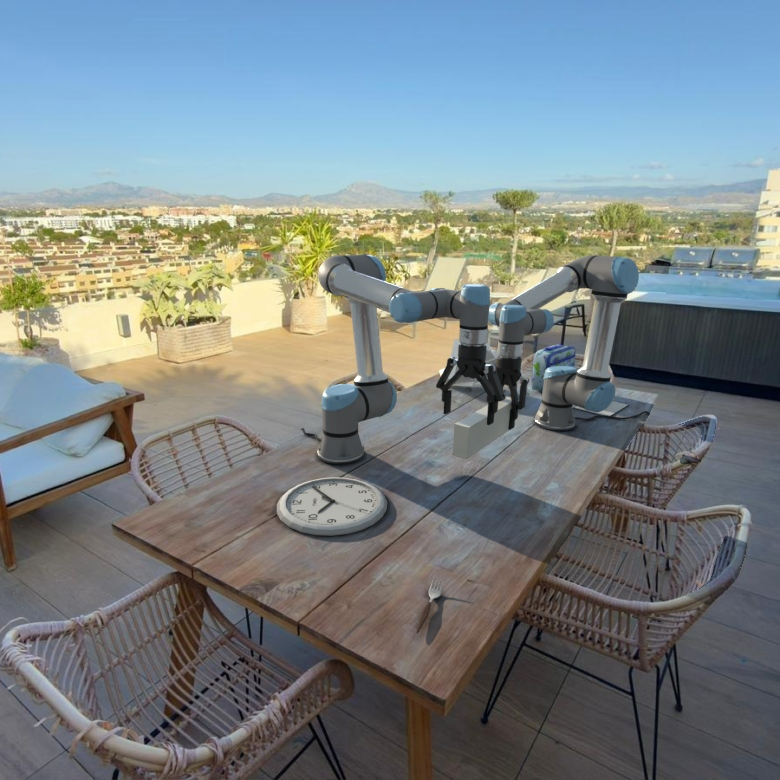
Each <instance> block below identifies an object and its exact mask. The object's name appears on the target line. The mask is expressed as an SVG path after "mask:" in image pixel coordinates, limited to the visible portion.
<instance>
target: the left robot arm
mask: <svg viewBox="0 0 780 780" xmlns="http://www.w3.org/2000/svg"><path fill="white" fill-rule="evenodd" d="M317 277H318V282H319V285H320V286H321V288H322V289H323V290H324V291H326V292H327V293H329V294H331V295H334V296H337V297H344V299H345V300H346V301H347V302H348V303H349V305H350V315H351V325H352V334H353V335H352V336H353V343H354V344H353V345H354V352H355V353H354V354H355V363H356V372H357V375H356V376H355V377H354V379H353V384H352V383H343V384H341V383H339V384H334V385H330V386H329V387H327V388H325V389H324V391H323V392H322V395H321V405H320V406H321V415H322V417H321V419H322V420H321V421H322V435H321V438H319V437H318V435H317V434H315V433H309V432H306V430H305V428H304V427H301V428H300V431H302V433H303V434H304V435H305V436H310V437H314V438H315V440H316V441H319V444H318V448H317V458H318V459H319V460H320V461H321V462H323V463H325V464H329V465H337V466H341V465H350V464H354V463H357V462H359V461H361V460H362V459H363V458H364V456H365V446H364V444H362V440H361V438H360V437H361V436H360V434H359V423H361V422H365V421H368V420H371V419H376V418H381V417H383V416H385V415H388V414H390V413H391V412H392V411H393V410H394V409H395V407H396V405H397V401H398V394H397V389H396V387H395V386H394V385H395V384H394V383H393V382H392V381H390V380H389V376H388V375H386V374H385V373H384V369H383V360H382V349H381V337H380V327H379V326H380V325H379V318H378V316H379V315H378V310H381V311H383V312H386V313H389V314H390V317H392V318H393V321H395V322H397V323H399V324H404V323H405V324H411V323H414V322H415V323H416V322H422V321H428V320H435V319H441V318H442V319H443V318H450V319H456V320H459V324H458V325H459V328H458V329H459V331H458V339H459V342H460V344H459V345H458V359H455V357H451V356H450V357H451V358H450V357H448V358H447V359H446V365H445V367H444V368H445V369H444V368H443V369H444V371H443V373H442V375H441V376H440V377H439V379H438V381H437V383H436V385H435V388H437V389H439V390H440V391H441V402H442V403H443V415H448V414H450V413H451V412H452V392H453V391H452V389H451V388H452V387H453V386H454V385H455V384H454V383H455V382H456V381H457V380H458V379H459V378H460V377H461V376H462V375H463V376H464V377H470V378H472V379H474V378H476V379H477V381H479V382H478V383H479V384H480V386H481V387H482V389H483V390H484V392H485V393H486V396H487V395H488V396H489V398H490V400H491V401H489V402H487V405H488V413H487V425H490V424H492V423H494V414H495V413H496V412H497V411H498V401H502V400H504V399H505V398H506V397H507V396H506V394H505V391H504V387H503V388H502V386H501V383H500V380H499V377H498V375H497V366H496V364H492V365H486V363H485V359H486V349H487V346H486V345H485V344H487V343H488V333H489V332H488V331H489V321H488V317H489V308H490V306H491V289H490V287H489V285H486V284H477V283H475V284H474V283H469V284H468V283H467V284H463V285H462V286H461V290H455V289H449V288H444V287H432V288H431V289H430V290H424V291H423V290H422V291H414V290H412V289H411V290H410V289H407V288H405V287H401V286H400V285H396V284H393V283H390V282H387V281H386V280H387V274H386V269H385V267H384V265H383V263H382V261H381V260H380V259H379V258H378V257H376V256H375V255H372V254H365V253H363V254H346V255H341V254H340V255H339V254H336V255H332V256H330V257H328V258H326V259H325V260H324V261H322V263H321V264H320V266H319V268H318V272H317ZM456 364H457V366H458V368H459V370H458V371H457V372H456V373H455V375H454V376H453V377H452V378H451V379H450V380H449V381H448V382H447V383H446V384H445V382H446V381H447V379H448V377H449V375H450V373H451V371H452V370H453V368H454V366H455V365H456ZM485 369H486V370H487V372H488V373H489V377H490V380H491V383H492V385H491V384H490V382H489V381H488V378H487V375H486V374H485V373H484V370H485ZM480 375H481V376H480ZM492 386H493V387H492ZM493 388H494V389H493Z"/></svg>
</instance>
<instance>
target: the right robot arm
mask: <svg viewBox="0 0 780 780" xmlns="http://www.w3.org/2000/svg"><path fill="white" fill-rule="evenodd" d="M639 277H640V272H639V267H638V266H637V264H636V262H635V261H634V260H633V259H631V258H630V257H624V256H610V255H595V254H594V255H593V254H591V255H585V256H583V257H579V258H577V259H574V260H572V261H570V262H568V263H566V264H564V265H563V266H561V267H559V268H557V270H556V272H555V274H553V275H550V276H549V277H547V278H546V279H544V280H543V281H541V282H539V283H537V284H536V285H534V286H532V287H531V288H529V289H527V290H525V291H523V292H521V293H520V294H519V295H517V296H515V297H514V298H512V299H510V300H508V301H506V302H505V303H502V302H495V303H492V304H490V308H489V317H488V323H489V324H490V325H493V326H496V327H497V326H498V327H499V331H498V343H497V350H498V352H497V354H498V356H497V364H496V366H497V375H498V377H499V380H500V383H501V386H502V388H503V389H504V387H505V386H507V387H508V386H509V387H508V390H509V389H510V390H509V393H510V397H511V401H512V408H513V409H511V410H510V417H509V428H508V429H509V431H511V430H513V429H514V428H515V427H514V423H515V424H516V420H518V417H519V411H520V410H523V409H524V408H525V407H526V398H527V396H526V391H527V387H528V385H529V382H530V378H528V377H527V378H526V377H525V376H524V377H522V375H521V368H522V361H523V358H522V356H523V352H524V340H525V339H524V338H525V336H530V335H541V334H544V333H548V332H549V331H551V330H552V328H553V326H554V323H555V319H554V314H553V313H552V311H551V310H549V309H547V308H542V307H544V306H546V305H548V304H549V303H551V302H553V301H554V300H556V299H557V298H559V297H561V296H563V295H564V294H566V293H572V292H575V291H576V290H581V289H589V290H591V293H590V294H591V295H590V296H591V298H593V300H594V303H593V308H592V312H591V318H590V324H589V330H588V334H587V340H586V344H585V350H584V355H583V360H582V366H581V367H580V368H577V367H575V366H574V367H570V366H555V367H549V368H547V369H546V370H545V375H544V378H543V379H544V380H543V391H541V402H540V405H539V407H538V410H537V411H536V413H535V416H534V424H535V425H536V426H537V427H539V428H542V429H544V430H549V431H556V432H567V431H572V430H574V429H575V428H576V420H579V421H592V420H594V419H596V418H608V419H614V420H630V419H634V418H637V417H640V416H642V415H645V414H647V415H649V416H650V415H651V413H650V412H649V411H647V410H645V411H644V410H643V411H642V412H640V413H638V414H635V415H631V416H624V417H623V416H621V417H620V416H614V415H611V416H608V415H600V414H596V415H593V416H592V417H588V418H587V417H580V416H579V417H577V416H575V413H574V407H576V406H578V407H581V408H583V409H586V410H588V411H593V412H601V411H603V410H605V409H606V408H607V407H608V406H609V405H610V404H611V402H612V401H614V398H615V395H616V386H615V384H614V383H613V382H611V379H612V374H611V373H610V372H609V365H610V360H611V355H612V351H613V345H614V340H615V336H616V331H617V325H618V321H619V316H620V311H621V305H622V303H624V302H625V301H626V300H627V299H628V295H629V294H632V293H633V292H634V291H635V290H636V288H637V286H638V283H639ZM486 376H487V379H488V381H489V382H490V384H491V385H492V383H491V380H490V377H489V373H487V375H486ZM518 382H519V384H520V386H519V393H518ZM492 387H493V386H492ZM493 389H494V388H493ZM518 394H519V395H518ZM489 401H491V400H490V398H489V396H488V395H487V394H486V402H487V403H488V402H489ZM573 406H574V407H573ZM588 411H587V412H588Z"/></svg>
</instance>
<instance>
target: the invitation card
mask: <svg viewBox="0 0 780 780" xmlns="http://www.w3.org/2000/svg"><path fill="white" fill-rule="evenodd" d="M628 406H629V404H627V403H623V402H618V401H614V400H612V402H611V404H610V405H609V406H608V407H607V408H606V409H605V410H603V411H601V412H593V411H588V410H586V409H583V408H581V407H578V406H574V407H573V409H575V410H581V411H584V412H587V413H593V414H596V415H608V416H614V414H616V413H617V412H619V411H621V410H623V409H624V408H626V407H628Z"/></svg>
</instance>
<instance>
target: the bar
mask: <svg viewBox="0 0 780 780" xmlns="http://www.w3.org/2000/svg"><path fill="white" fill-rule="evenodd" d="M511 409H513V408H512V401H511V396H506V398H505V399H504V400H502V401H498V411H497V412H496V413H495V414H494V423H492V424H490V425H487V413H488V404H487V405H485V406H483V407H481V408H480V409H478V410H476V411H475V412H473V413H470V414H469V415H467V416H466V417H464V418H462V419H460V420H459V421H457V422H455V423H453V437H452V456H454V457H458V458H461V459H464V460H468V459H470V458H471V457H472V456H474V455H475V454H477V453H478V452H480V451H481V450H483V449H485V448H486V447H487V446H489V445H490V444H491V443H493V442H494V441H496V440H498V439H499V438H500V437H502V436H503V435H504V434H506V433H507V432H509V431H510V430H509V429H508V428H509V417H510V410H511ZM515 426H516V422H515V423H514V428H515Z"/></svg>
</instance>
